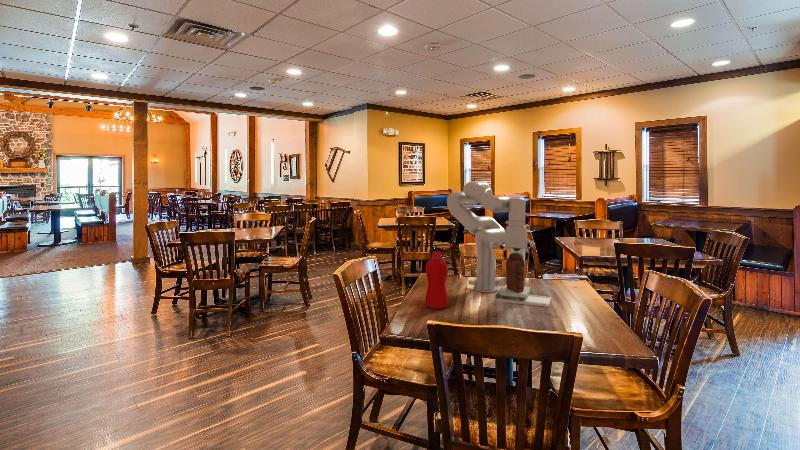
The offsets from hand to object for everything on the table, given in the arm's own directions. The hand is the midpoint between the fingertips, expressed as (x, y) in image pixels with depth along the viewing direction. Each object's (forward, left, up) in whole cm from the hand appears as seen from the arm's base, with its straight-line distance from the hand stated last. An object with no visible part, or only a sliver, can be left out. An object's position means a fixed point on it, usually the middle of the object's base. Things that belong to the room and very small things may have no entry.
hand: (515, 259), depth 211 cm
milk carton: (-7, +47, -19) cm, 51 cm away
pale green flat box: (0, 0, -18) cm, 18 cm away
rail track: (+4, 0, -19) cm, 20 cm away
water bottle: (-30, -26, -19) cm, 44 cm away
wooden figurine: (0, 0, -15) cm, 15 cm away
